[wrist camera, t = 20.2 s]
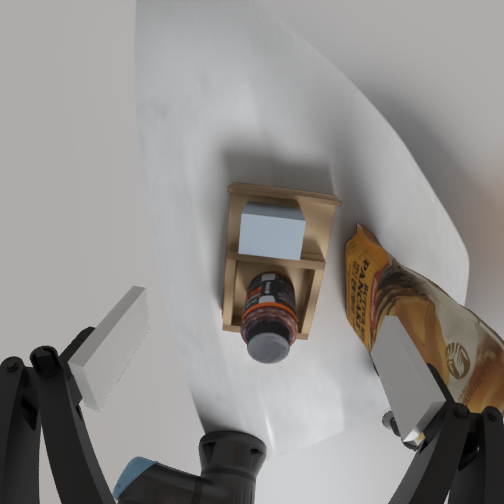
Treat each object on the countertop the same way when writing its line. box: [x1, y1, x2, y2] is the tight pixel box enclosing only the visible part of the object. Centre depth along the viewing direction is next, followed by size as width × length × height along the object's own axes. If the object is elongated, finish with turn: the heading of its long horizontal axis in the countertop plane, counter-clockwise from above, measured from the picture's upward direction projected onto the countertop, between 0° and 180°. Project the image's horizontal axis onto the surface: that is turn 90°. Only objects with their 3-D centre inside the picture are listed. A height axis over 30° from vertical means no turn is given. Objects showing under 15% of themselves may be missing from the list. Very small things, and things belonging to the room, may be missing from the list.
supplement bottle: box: [240, 271, 298, 364], centre depth 31 cm, size 6×6×11 cm
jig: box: [222, 182, 342, 340], centre depth 34 cm, size 18×12×4 cm, turn 174°
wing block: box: [238, 201, 306, 261], centre depth 30 cm, size 4×6×6 cm, turn 85°
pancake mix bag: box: [345, 222, 504, 451], centre depth 23 cm, size 7×19×28 cm, turn 10°
